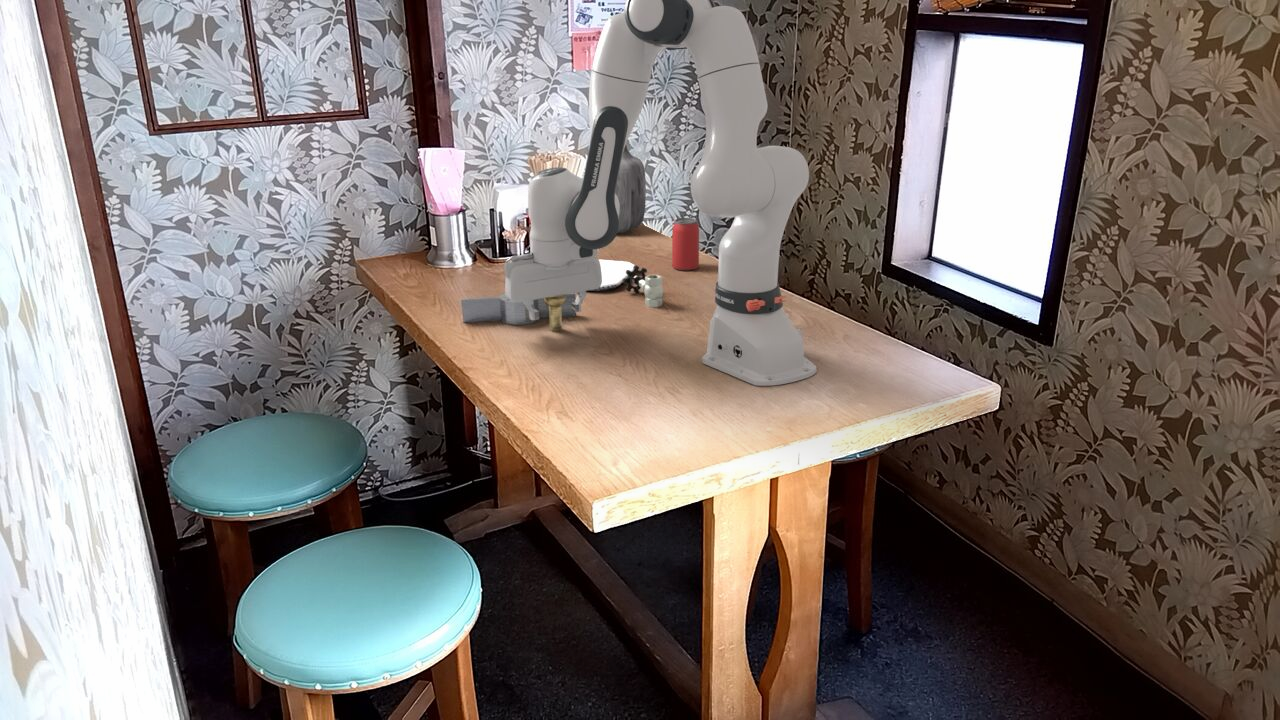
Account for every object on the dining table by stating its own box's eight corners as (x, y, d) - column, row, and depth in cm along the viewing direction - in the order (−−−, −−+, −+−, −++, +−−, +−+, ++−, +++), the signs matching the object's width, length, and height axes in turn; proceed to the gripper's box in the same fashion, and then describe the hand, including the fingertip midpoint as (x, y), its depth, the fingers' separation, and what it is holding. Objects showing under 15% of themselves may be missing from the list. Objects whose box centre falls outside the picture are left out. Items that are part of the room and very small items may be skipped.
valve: (671, 305, 211) (648, 290, 221) (671, 277, 208) (648, 263, 218) (644, 310, 208) (622, 294, 218) (643, 281, 206) (622, 267, 216)
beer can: (668, 265, 239) (668, 218, 235) (693, 263, 241) (693, 216, 237) (677, 272, 234) (677, 224, 229) (702, 270, 235) (703, 222, 231)
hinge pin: (570, 330, 196) (568, 297, 193) (550, 334, 194) (548, 301, 191) (561, 324, 200) (560, 291, 197) (542, 328, 198) (540, 295, 195)
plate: (531, 288, 224) (531, 279, 223) (563, 264, 242) (563, 256, 241) (614, 296, 218) (614, 286, 217) (641, 271, 236) (641, 262, 235)
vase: (656, 233, 269) (656, 125, 258) (606, 241, 262) (604, 130, 250) (628, 221, 282) (627, 118, 271) (580, 228, 275) (576, 122, 263)
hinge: (574, 309, 209) (573, 287, 207) (577, 321, 201) (576, 299, 199) (463, 315, 205) (461, 293, 204) (462, 328, 198) (460, 305, 196)
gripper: (509, 261, 183) (513, 328, 189) (604, 246, 192) (606, 311, 198) (497, 253, 189) (502, 319, 194) (591, 239, 198) (593, 303, 203)
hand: (555, 315), depth 196 cm, fingers open, 8 cm apart
